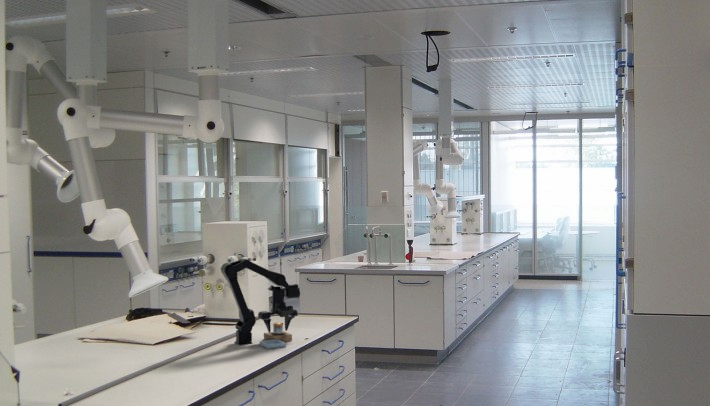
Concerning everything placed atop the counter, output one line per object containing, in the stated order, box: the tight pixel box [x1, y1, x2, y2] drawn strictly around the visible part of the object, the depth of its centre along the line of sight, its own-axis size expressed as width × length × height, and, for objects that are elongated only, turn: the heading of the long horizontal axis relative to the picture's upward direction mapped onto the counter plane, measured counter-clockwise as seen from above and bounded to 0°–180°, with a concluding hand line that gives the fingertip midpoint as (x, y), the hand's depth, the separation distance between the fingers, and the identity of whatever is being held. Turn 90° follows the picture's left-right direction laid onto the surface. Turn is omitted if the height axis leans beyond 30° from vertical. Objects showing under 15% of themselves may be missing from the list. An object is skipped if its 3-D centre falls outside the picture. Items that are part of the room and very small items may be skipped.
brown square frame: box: [263, 330, 293, 343], centre depth 352 cm, size 10×10×3 cm
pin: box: [272, 322, 284, 335], centre depth 352 cm, size 5×5×8 cm
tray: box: [259, 339, 287, 350], centre depth 339 cm, size 9×9×2 cm
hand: (277, 331), depth 352 cm, fingers open, 9 cm apart
